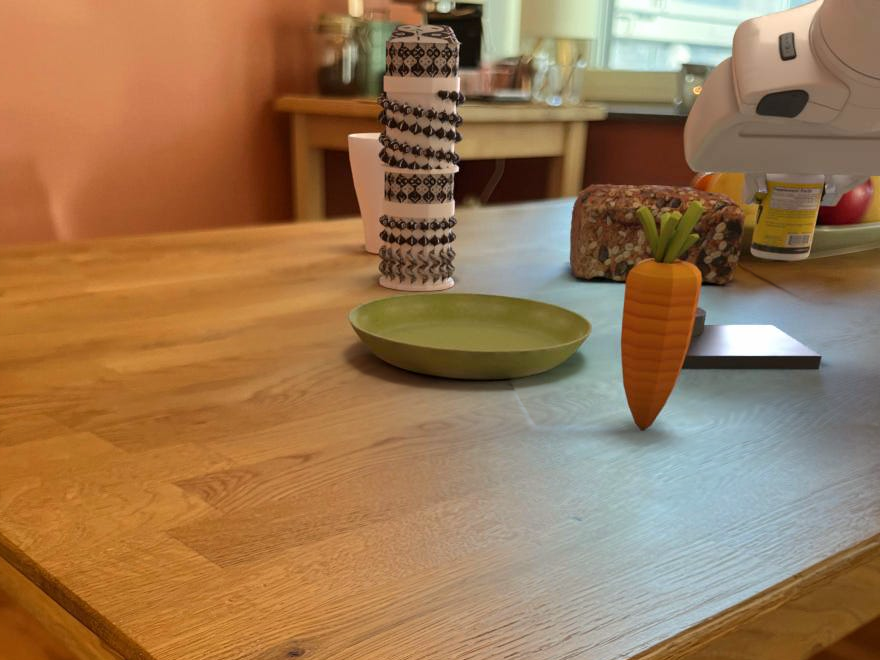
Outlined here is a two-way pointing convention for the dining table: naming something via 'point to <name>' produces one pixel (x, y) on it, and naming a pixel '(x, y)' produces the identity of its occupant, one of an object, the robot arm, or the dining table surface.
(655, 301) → the carrot
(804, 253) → the supplement bottle
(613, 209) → the bread
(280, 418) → the dining table surface
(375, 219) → the cup
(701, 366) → the scale
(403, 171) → the decorative candle
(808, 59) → the robot arm
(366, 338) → the saucer
